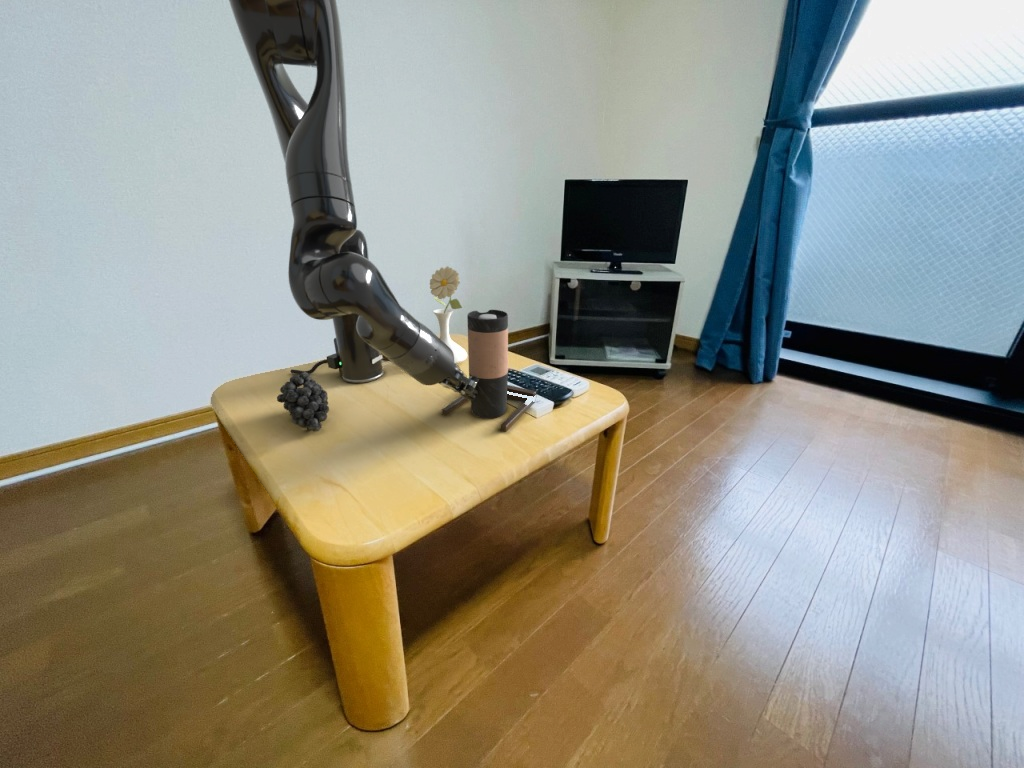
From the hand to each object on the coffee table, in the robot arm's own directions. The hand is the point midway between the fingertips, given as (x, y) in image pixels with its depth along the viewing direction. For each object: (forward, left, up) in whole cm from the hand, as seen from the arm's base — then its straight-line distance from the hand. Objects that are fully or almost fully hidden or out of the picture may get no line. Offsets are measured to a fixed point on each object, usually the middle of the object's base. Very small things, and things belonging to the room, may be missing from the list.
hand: (473, 395), depth 75 cm
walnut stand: (+1, +5, -5) cm, 7 cm away
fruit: (-27, -16, -5) cm, 32 cm away
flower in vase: (-22, +23, -5) cm, 32 cm away
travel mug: (+1, +4, -5) cm, 7 cm away
